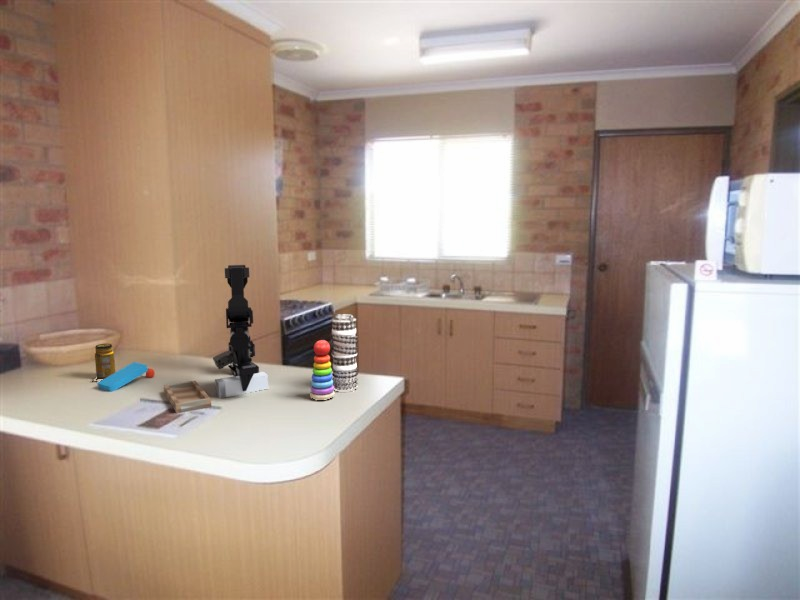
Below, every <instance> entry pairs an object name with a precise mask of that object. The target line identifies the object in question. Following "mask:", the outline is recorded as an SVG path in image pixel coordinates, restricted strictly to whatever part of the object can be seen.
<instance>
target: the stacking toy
mask: <svg viewBox="0 0 800 600" xmlns="http://www.w3.org/2000/svg"><path fill="white" fill-rule="evenodd" d="M330 345H331V344H330V343H329V342H328V341H327V340H325V339H321V340H318V341H316V342H315V343H314V345H313V352H314V353H315V354H316V355H314V357H313V361H314V363H313V369H312V375H311V379H312V380H311V382H310V384H311V386H310V392H309V397H310V398H311V399H312V398H313V399H317V400H324V399H330V398H332V397H333V398H334V397H335V396H336V392H335V391H334V386H333V380H332V378H333V376H332V373H333V372H332V369H333V368H332V367H331V366H332V362H331V361H330V360H331V356H330V355H329V353H330V350H331V346H330ZM333 398H332V399H333ZM313 399H312V400H313ZM317 400H316V401H317ZM330 400H331V399H330Z"/></svg>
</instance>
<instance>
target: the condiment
mask: <svg viewBox="0 0 800 600" xmlns="http://www.w3.org/2000/svg"><path fill="white" fill-rule="evenodd" d="M94 348H95V350H94V351H95V353H94V361H95V374H96V376H97V379H105V378H107V377H108V376H110V375H112V374H114V373H116V372H117V371H116V364H115V352H114V350H113V345H112V343H100V344H99V343H98V344H96V345H95V346H94ZM92 381H94V380H93V379H92V380H90V382H91V383H93V382H92Z"/></svg>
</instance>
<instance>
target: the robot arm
mask: <svg viewBox="0 0 800 600" xmlns="http://www.w3.org/2000/svg"><path fill="white" fill-rule="evenodd" d="M224 278H225V279H226V281H227V284H228V285H229V287H230V288H231V289H230V290H231V298H230V299H229V300H227V308H225V318H226V319H225V321H226V322H225V323H226V329H229V331H230V336H229V342H228V350H226V351H224V352H222V353H220V354H217V355H215V356H213V357H212V360H213V363H214V364H215V366H216V368H217V369H218V370H222V369H224V368H225V367H228V368H229V369H230V373H232V374H233V376H239V377H240V381H241V386H242V390H243V391H246V390H247V388H248V386H249V383H250V381H251V379H252V377H253V375H254V374H255V373H259V372H260V366H259V365H258V364H256V363H255V362H253V358H254V357H256V349H255V346H256V345H255V343H254V341H253V340H251V335H250V332H249V330H250V329H249V328H250V327H251V328H252V326H253V324H254V311H253V309H252V307H250V306H249V301H248V299H247V298H246V297H245V288H246V285H247V284H248V281H249V280H248V279H249V278H250V267H247V266H246V264H231V265H230V264H228V265H227V268H226V267H225V268H224Z"/></svg>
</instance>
